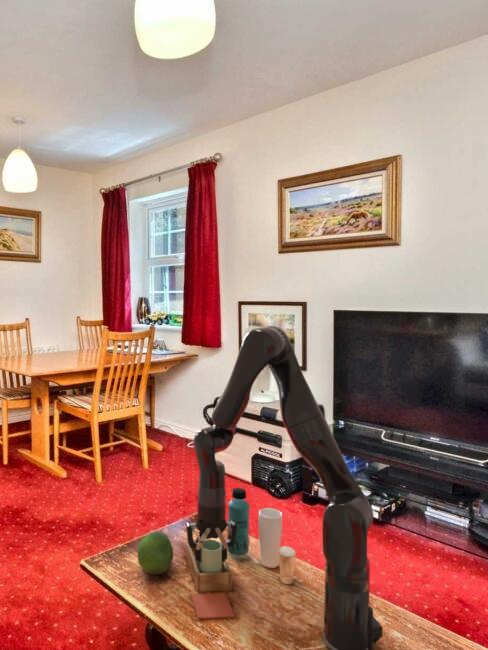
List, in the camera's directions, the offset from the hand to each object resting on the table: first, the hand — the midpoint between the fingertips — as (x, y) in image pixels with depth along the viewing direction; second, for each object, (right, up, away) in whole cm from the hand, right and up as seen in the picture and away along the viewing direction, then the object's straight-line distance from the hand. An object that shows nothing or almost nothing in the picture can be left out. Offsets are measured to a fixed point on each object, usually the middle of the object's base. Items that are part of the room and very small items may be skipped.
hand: (210, 560), depth 133 cm
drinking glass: (+18, -6, +9) cm, 21 cm away
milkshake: (+21, -6, 0) cm, 22 cm away
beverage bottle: (+10, -5, +13) cm, 17 cm away
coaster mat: (-1, -6, -11) cm, 12 cm away
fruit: (-15, -5, +7) cm, 17 cm away
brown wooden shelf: (0, -5, +4) cm, 7 cm away
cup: (0, -6, 0) cm, 6 cm away
